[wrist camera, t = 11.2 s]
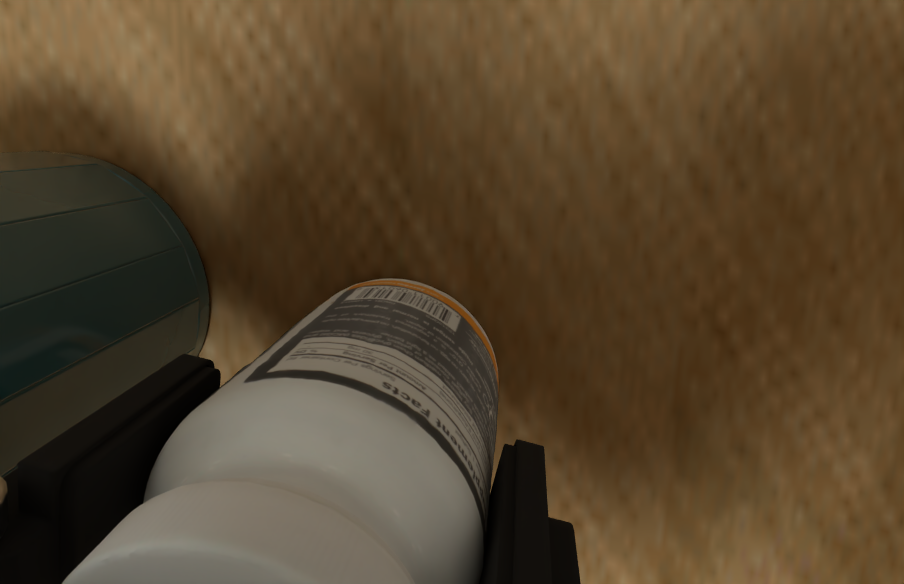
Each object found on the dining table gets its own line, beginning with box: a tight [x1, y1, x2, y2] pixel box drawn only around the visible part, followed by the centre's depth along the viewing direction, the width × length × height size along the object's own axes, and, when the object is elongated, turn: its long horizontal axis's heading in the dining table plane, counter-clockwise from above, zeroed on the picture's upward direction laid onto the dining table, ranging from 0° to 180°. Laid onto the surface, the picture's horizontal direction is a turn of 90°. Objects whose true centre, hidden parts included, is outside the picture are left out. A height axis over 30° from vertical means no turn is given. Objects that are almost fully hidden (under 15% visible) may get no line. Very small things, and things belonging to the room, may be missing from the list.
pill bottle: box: [62, 278, 499, 584], centre depth 11 cm, size 6×6×10 cm
